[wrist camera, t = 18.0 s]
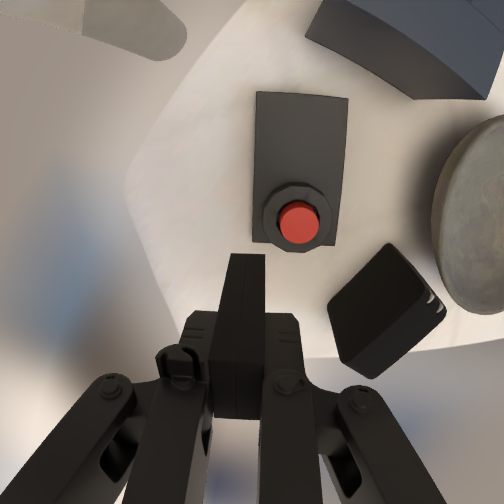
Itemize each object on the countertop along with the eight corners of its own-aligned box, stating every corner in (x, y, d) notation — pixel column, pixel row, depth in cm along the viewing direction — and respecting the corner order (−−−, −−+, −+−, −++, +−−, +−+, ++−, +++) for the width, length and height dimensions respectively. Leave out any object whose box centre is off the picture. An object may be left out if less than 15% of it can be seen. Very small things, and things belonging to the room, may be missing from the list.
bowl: (533, 108, 23) (577, 116, 16) (530, 260, 31) (563, 288, 24) (393, 114, 26) (431, 117, 19) (407, 298, 34) (433, 340, 27)
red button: (280, 200, 27) (281, 206, 26) (317, 202, 27) (320, 208, 26) (278, 235, 29) (279, 243, 27) (314, 237, 28) (316, 244, 27)
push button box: (257, 92, 26) (255, 89, 23) (344, 99, 26) (354, 97, 23) (252, 236, 32) (250, 250, 29) (331, 240, 32) (338, 254, 29)
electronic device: (325, 304, 35) (340, 366, 26) (388, 240, 31) (427, 289, 22) (349, 322, 36) (369, 383, 27) (410, 262, 32) (450, 313, 23)
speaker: (413, 99, 25) (493, 101, 14) (304, 36, 24) (330, -14, 12) (444, 31, 22) (522, 7, 10) (342, -32, 20) (380, -97, 8)
